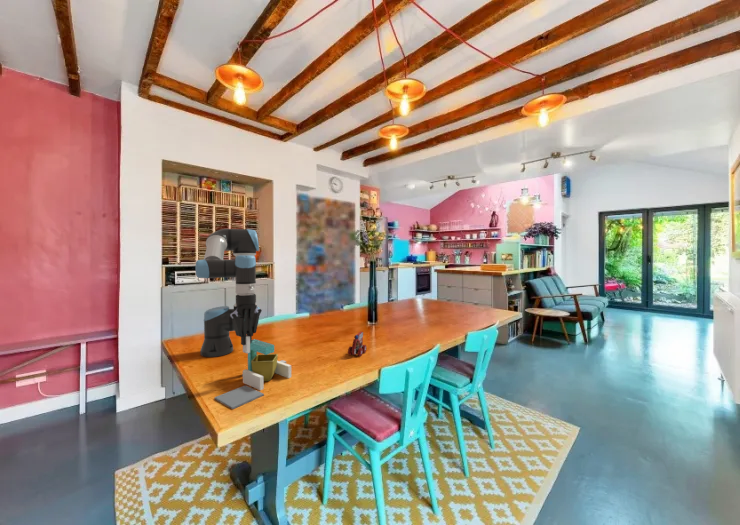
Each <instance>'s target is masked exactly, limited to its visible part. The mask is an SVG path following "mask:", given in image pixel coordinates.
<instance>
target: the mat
mask: <svg viewBox="0 0 740 525" xmlns="http://www.w3.org/2000/svg"><path fill="white" fill-rule="evenodd" d="M264 396H265V393H263V392H261V391H260V390H258V389H257V390H256V388H253V387H251V386H249V385H247V384H244V385H242V386H240V387H236V388H235V389H231V390H230V391H227V392H225V393H223V394H219V395H216V396H214V398H213V399H214V400H216V401H217V402H219V403H221V404H222V405H224V406H226V407H228V408H230V409H231V410H235V409H237V408H240V407H241V406H244V405H245V404H249V403H250V402H252V401H255V400H257V399H259V398H261V397H264Z"/></svg>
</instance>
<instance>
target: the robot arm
mask: <svg viewBox="0 0 740 525" xmlns="http://www.w3.org/2000/svg"><path fill="white" fill-rule="evenodd" d="M205 247H206V250H205V253H204V257H203V259H198V260H196V261H195V276H196V278H198V279H218V278H219V279H220V278H222V279H223V278H235V303H234V305H233V308H230V307H229V306H228V305H225V306H224V305H223V306H216V307H212V308H208V309H206V311H204V314H203V315H204V316H203V325H204V326H203V328H204V329H203V330H204V331H203V332H204V335H203V337H204V339H203V342H202V345H201V347H200V356H201V357H205V358H216V357H223V356H225V355H229V354H231V353H232V352H234V344H233V342H232V339H231V337H230V332H235V336H237V337H240V344H241V345H242V353H245V354H248V353H250V343H251V342H252V340H253V336H254V334H256V333H257V330H258V326H259V320H260V315H261V313H262V310H263V309H261V308H260V307H259V306H258V304H257V294H256V293H257V287H256V285H257V282H256V276H257V273H256V272H257V271H256V270H257V268H256V266H257V262H256V255H257V252H259V251H260V247H259V238H258V234H257V231H256V230H254V229H248V228H246V229H245V228H223V229H222V228H221V229H218V230H216V231H214V232H212V233H211V234H209V235H208V236H207V238H206V240H205ZM225 251H227V252H228V251H229V252H232V255H233V256H234V257H235V259H224V254H225Z"/></svg>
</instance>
